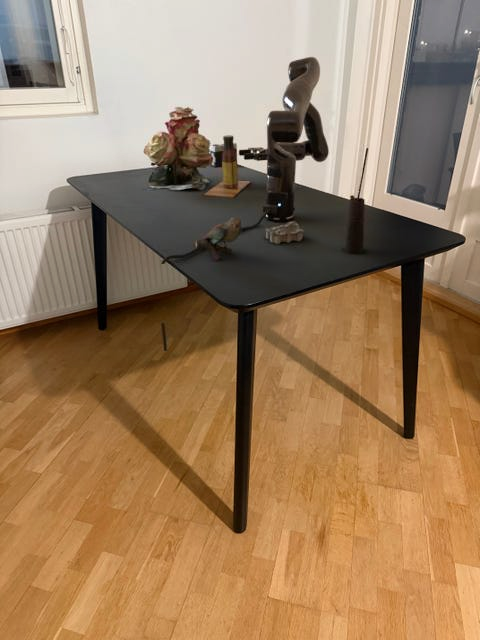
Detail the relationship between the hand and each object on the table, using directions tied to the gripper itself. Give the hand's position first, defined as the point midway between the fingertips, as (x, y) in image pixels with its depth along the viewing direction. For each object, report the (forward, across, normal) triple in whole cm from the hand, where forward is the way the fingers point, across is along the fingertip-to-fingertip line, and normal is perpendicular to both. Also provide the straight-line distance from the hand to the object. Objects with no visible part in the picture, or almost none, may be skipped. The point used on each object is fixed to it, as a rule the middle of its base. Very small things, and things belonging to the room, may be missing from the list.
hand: (241, 154), depth 186 cm
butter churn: (-14, -75, -13) cm, 77 cm away
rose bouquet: (+22, +12, -13) cm, 29 cm away
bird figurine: (+24, -70, -13) cm, 75 cm away
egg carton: (+2, -62, -13) cm, 63 cm away
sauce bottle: (+5, 0, -13) cm, 14 cm away
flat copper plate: (+6, -1, -13) cm, 14 cm away
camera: (-1, +47, -13) cm, 49 cm away
